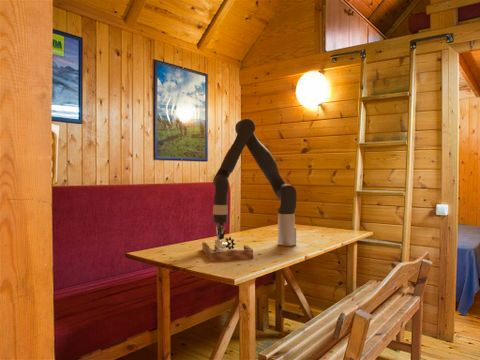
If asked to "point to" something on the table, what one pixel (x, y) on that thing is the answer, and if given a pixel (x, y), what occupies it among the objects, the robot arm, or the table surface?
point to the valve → (223, 244)
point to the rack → (227, 253)
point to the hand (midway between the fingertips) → (220, 246)
